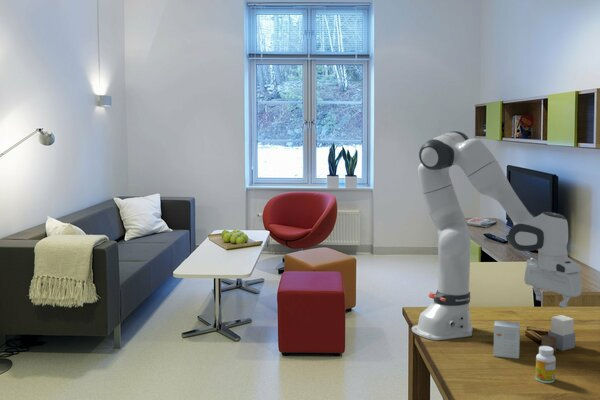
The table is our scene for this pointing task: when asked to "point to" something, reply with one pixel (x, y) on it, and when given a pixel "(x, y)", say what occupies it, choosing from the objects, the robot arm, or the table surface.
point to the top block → (562, 325)
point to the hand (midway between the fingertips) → (551, 303)
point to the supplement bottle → (545, 365)
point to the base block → (564, 340)
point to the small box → (506, 339)
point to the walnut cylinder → (549, 342)
